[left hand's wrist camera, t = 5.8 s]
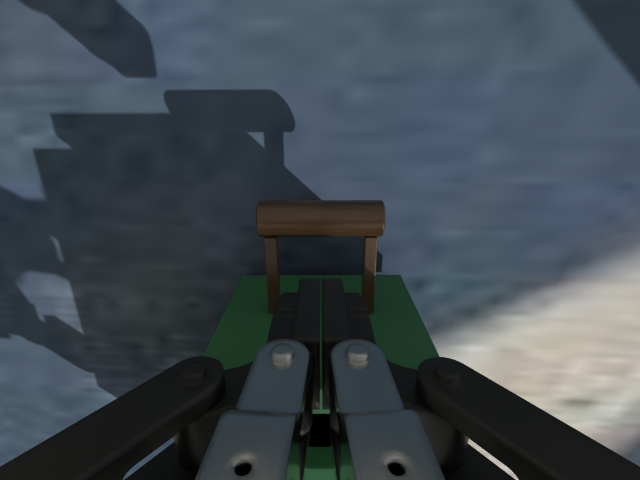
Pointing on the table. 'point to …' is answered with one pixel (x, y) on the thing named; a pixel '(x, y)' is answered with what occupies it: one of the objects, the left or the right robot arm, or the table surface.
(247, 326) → the drawer
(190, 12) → the table surface
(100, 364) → the table surface
